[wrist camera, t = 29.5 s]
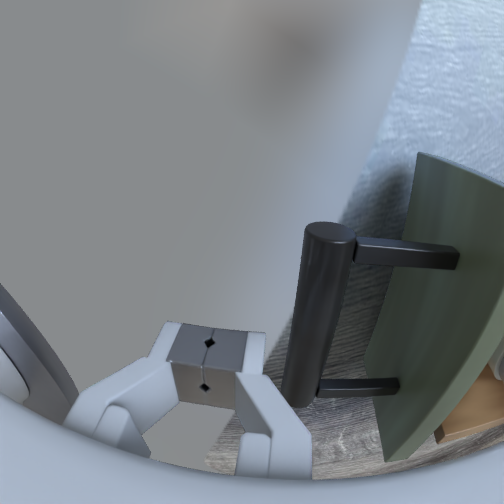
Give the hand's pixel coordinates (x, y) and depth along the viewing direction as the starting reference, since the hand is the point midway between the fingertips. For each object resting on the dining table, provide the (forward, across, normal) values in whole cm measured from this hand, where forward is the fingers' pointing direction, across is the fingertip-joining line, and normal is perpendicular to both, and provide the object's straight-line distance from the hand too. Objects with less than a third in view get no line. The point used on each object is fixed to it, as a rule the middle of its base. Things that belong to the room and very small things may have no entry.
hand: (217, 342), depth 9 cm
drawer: (+5, -11, 0) cm, 13 cm away
